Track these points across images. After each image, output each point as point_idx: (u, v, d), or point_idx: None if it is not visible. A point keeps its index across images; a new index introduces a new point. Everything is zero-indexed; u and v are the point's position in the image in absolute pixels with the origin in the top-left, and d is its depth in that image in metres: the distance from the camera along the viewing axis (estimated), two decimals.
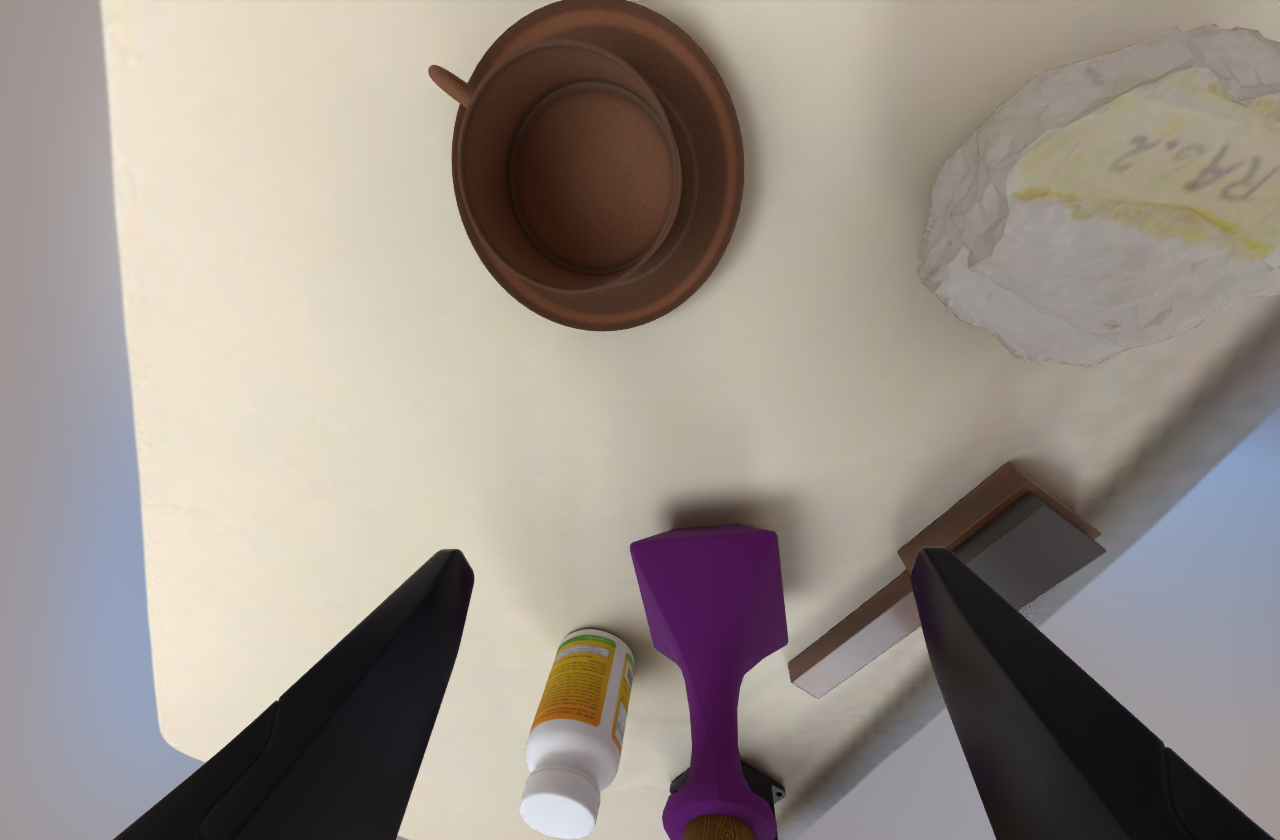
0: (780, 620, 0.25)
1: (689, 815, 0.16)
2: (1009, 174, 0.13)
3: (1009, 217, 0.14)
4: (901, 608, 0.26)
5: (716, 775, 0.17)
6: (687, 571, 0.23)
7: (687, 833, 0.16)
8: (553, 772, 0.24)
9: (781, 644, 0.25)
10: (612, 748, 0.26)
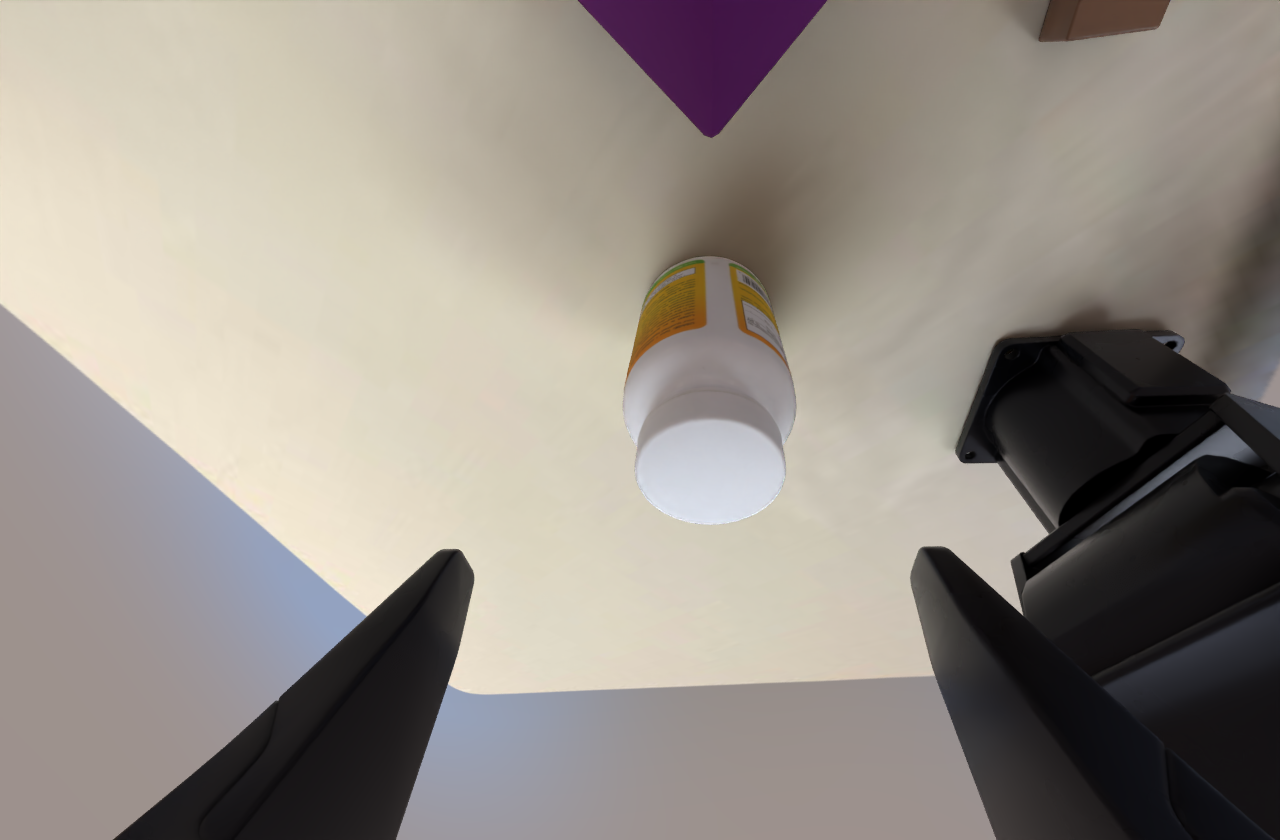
0: None
1: None
2: None
3: None
4: None
5: None
6: None
7: None
8: (655, 412, 0.13)
9: None
10: (751, 342, 0.13)
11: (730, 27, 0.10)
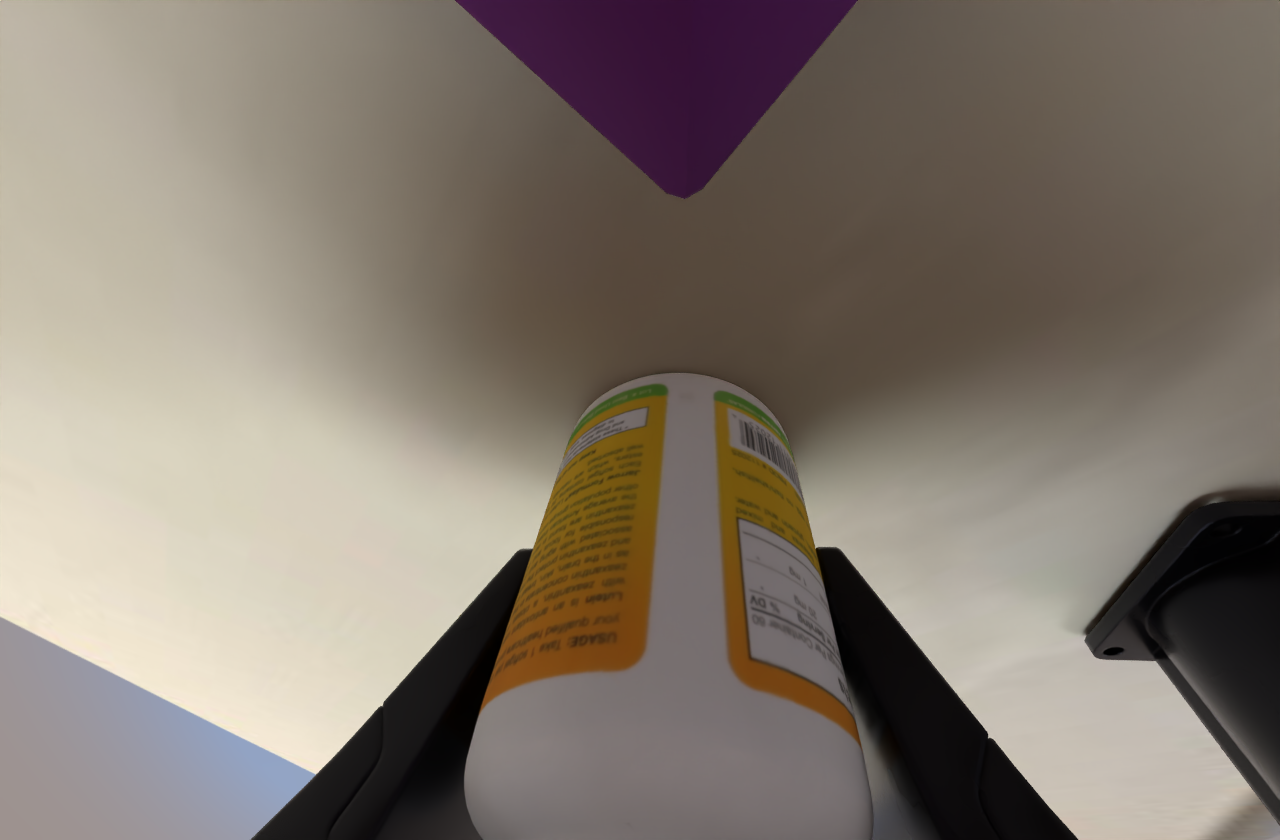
0: None
1: None
2: None
3: None
4: None
5: None
6: None
7: None
8: None
9: None
10: (763, 725, 0.05)
11: None
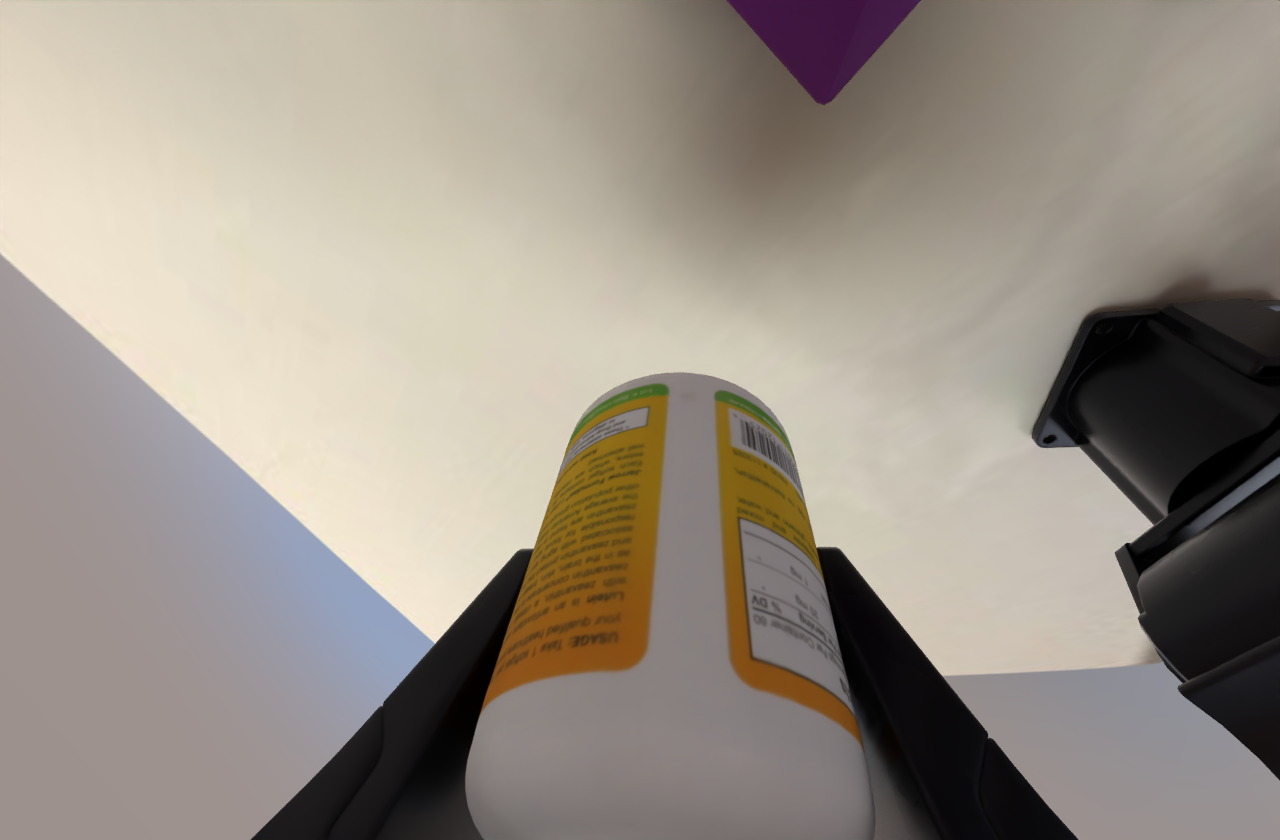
0: None
1: None
2: None
3: None
4: None
5: None
6: None
7: None
8: None
9: None
10: (764, 726, 0.05)
11: None
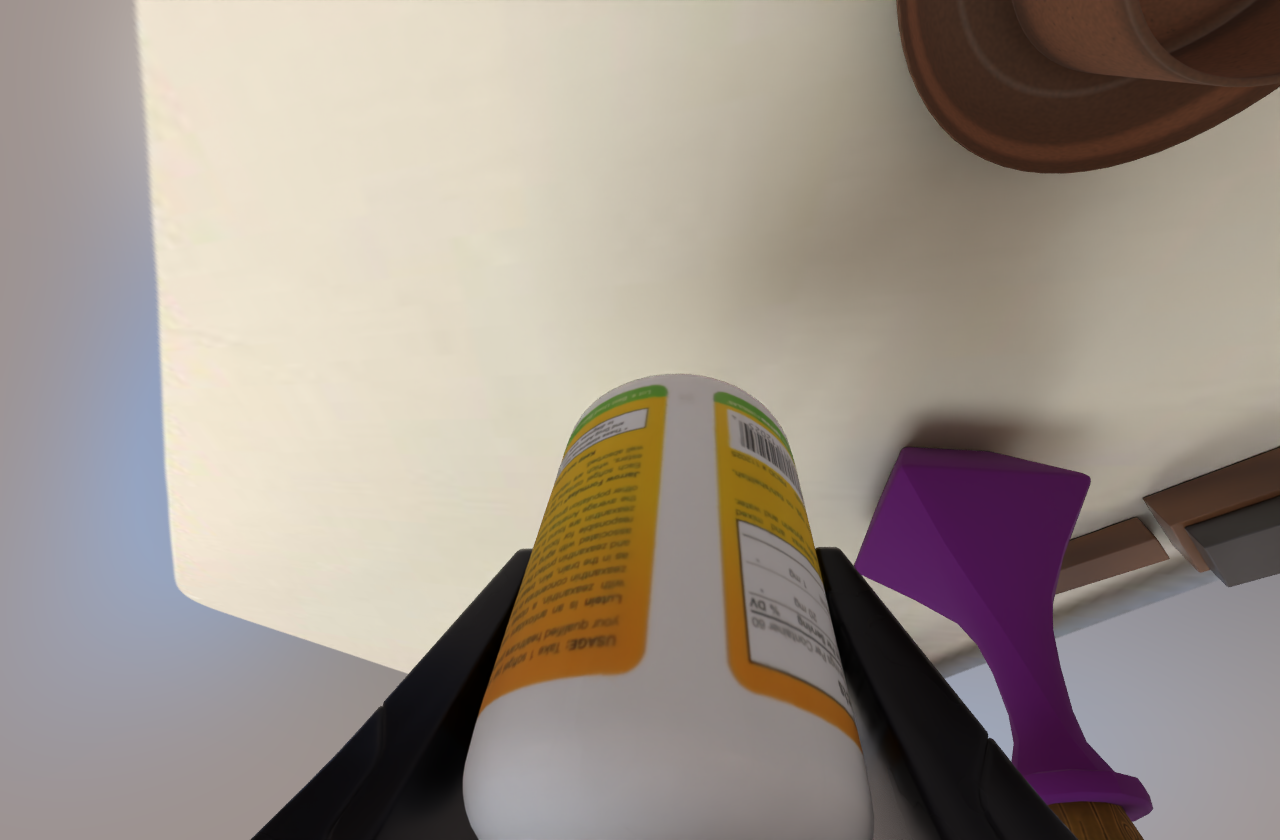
0: None
1: (1069, 800, 0.14)
2: None
3: None
4: (1124, 554, 0.24)
5: (1086, 756, 0.15)
6: (984, 510, 0.19)
7: (1063, 817, 0.14)
8: None
9: None
10: (763, 729, 0.05)
11: None
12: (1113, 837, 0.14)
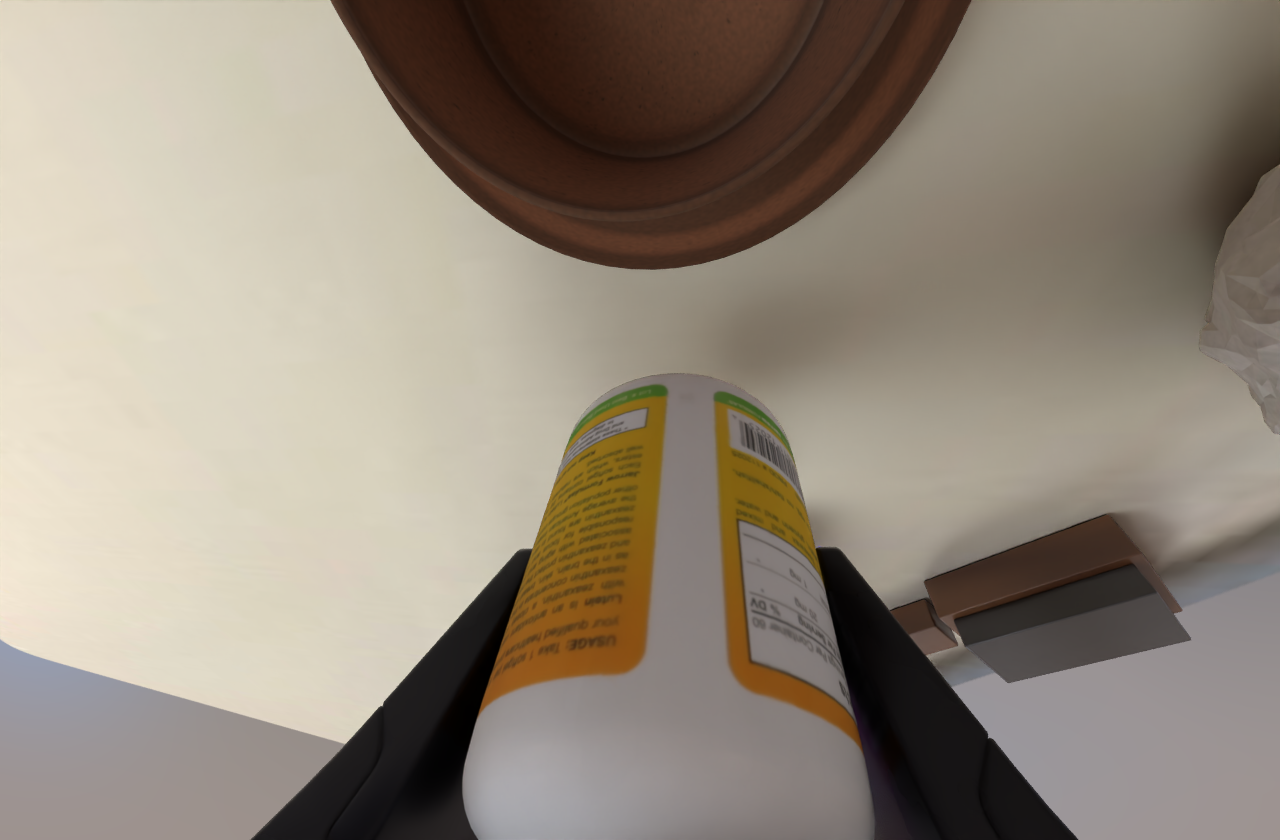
0: None
1: None
2: None
3: None
4: None
5: None
6: None
7: None
8: None
9: None
10: (764, 730, 0.05)
11: None
12: None
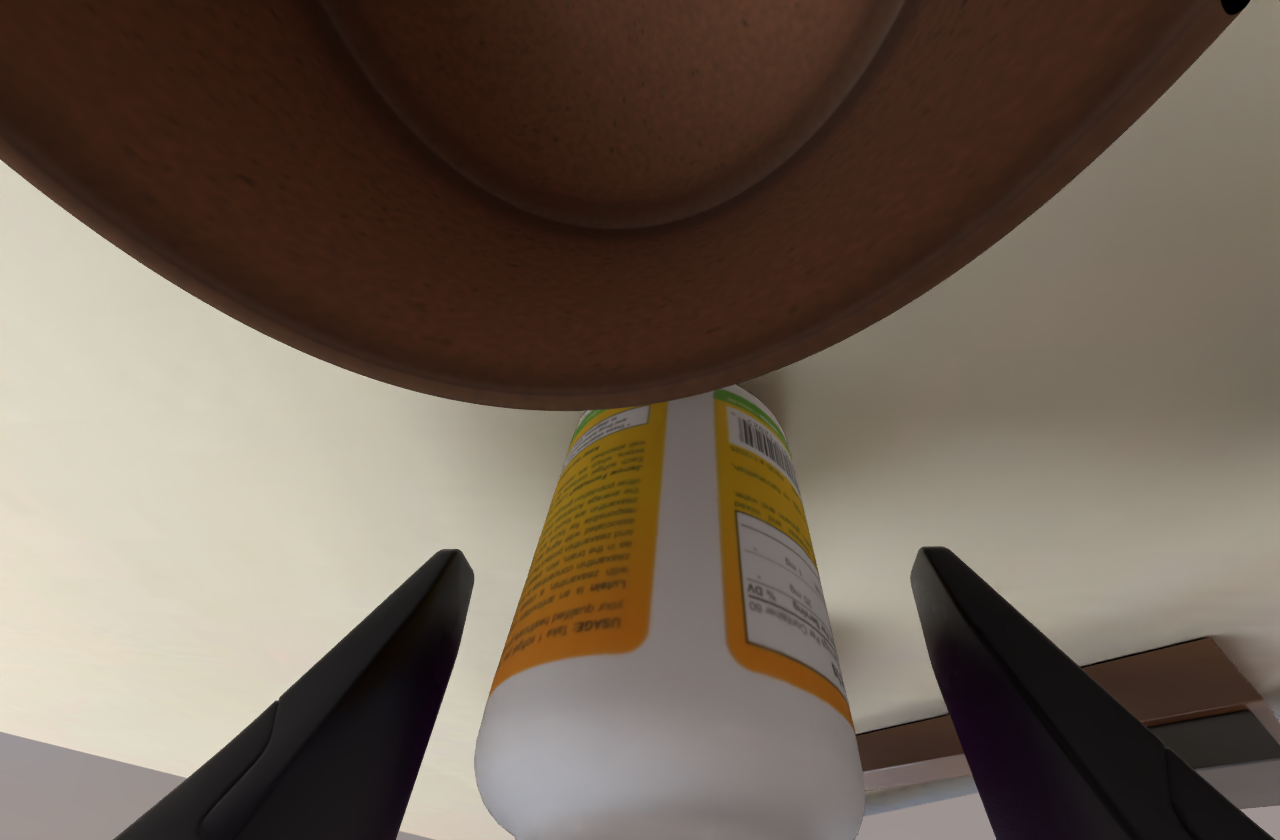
0: None
1: None
2: None
3: None
4: (951, 762, 0.19)
5: None
6: None
7: None
8: None
9: None
10: (759, 704, 0.05)
11: None
12: None
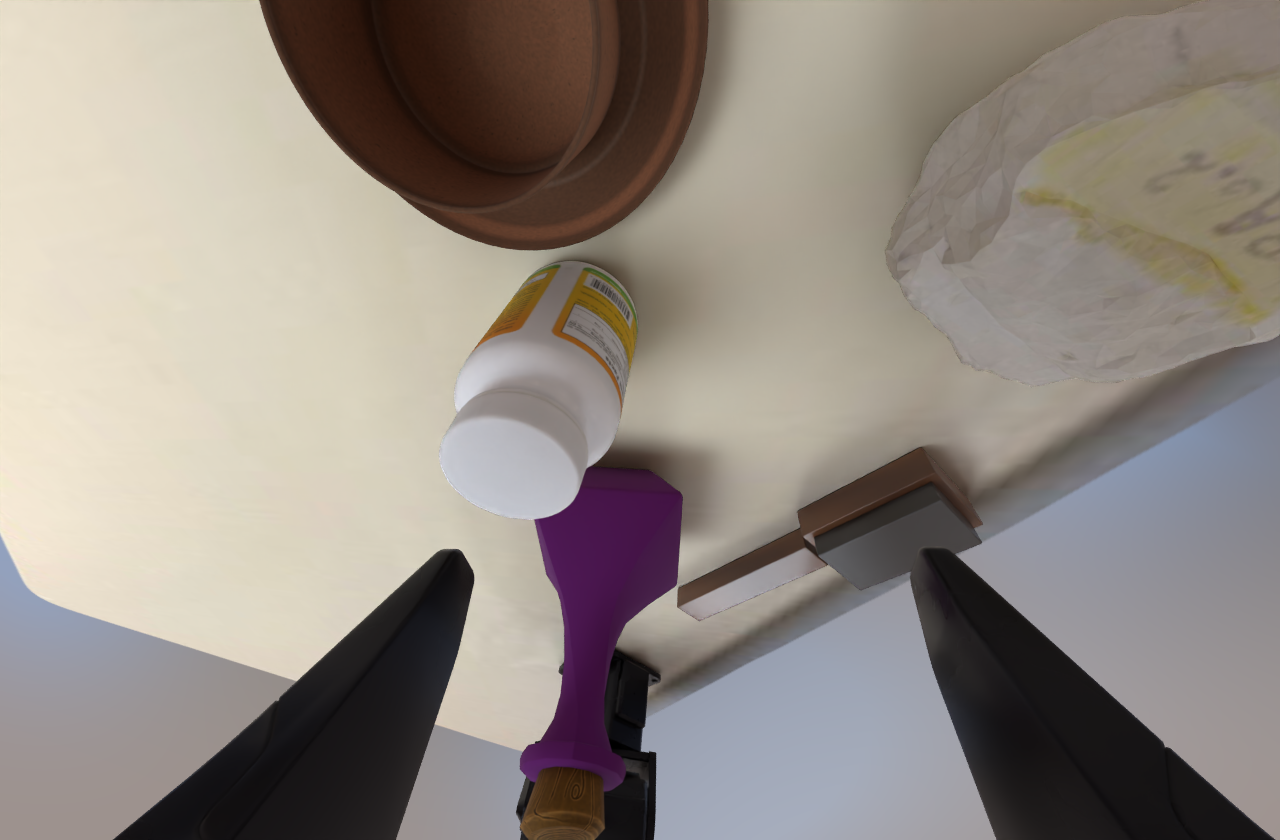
0: (672, 569, 0.25)
1: (543, 766, 0.17)
2: (1025, 165, 0.10)
3: (1006, 221, 0.11)
4: (788, 561, 0.27)
5: (576, 730, 0.18)
6: (584, 523, 0.22)
7: (539, 780, 0.17)
8: (458, 412, 0.13)
9: (668, 589, 0.26)
10: (559, 344, 0.14)
11: None
12: (558, 794, 0.17)
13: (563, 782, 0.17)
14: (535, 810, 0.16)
